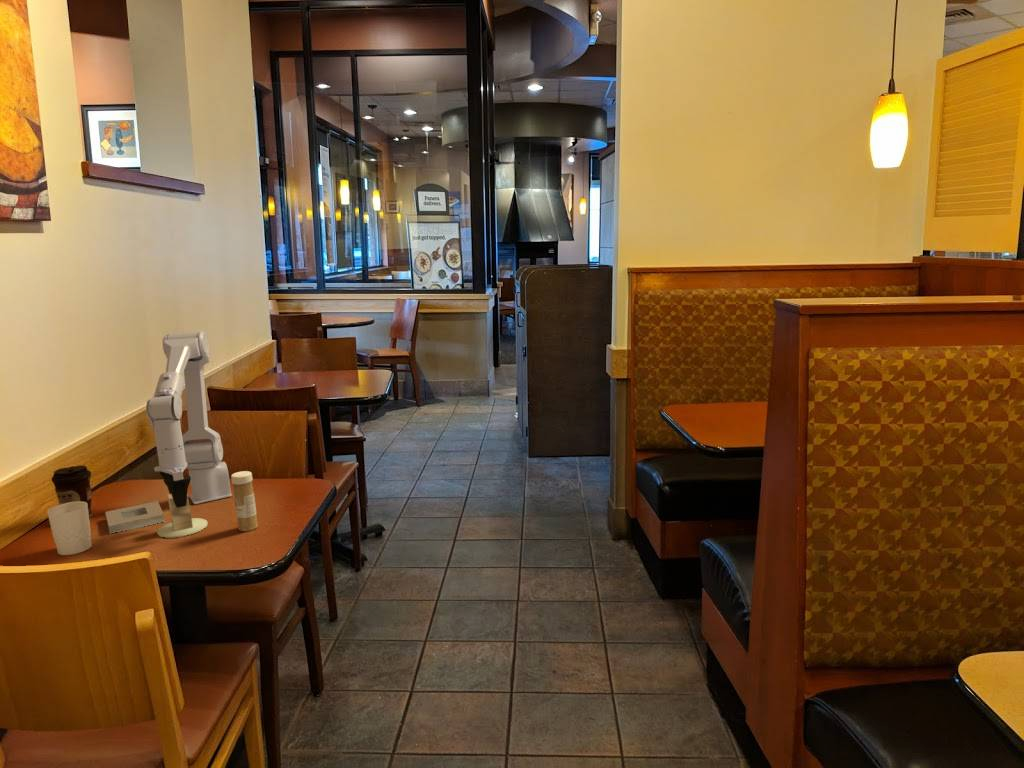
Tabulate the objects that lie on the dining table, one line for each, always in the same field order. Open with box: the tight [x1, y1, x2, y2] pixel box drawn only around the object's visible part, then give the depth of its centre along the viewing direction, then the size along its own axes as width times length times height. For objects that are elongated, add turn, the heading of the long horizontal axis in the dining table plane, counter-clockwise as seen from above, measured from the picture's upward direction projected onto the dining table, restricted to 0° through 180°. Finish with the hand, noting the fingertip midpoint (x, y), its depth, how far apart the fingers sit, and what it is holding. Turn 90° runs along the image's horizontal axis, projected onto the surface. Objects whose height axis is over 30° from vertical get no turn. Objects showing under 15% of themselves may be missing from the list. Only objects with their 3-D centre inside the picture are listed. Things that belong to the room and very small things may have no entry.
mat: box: [156, 517, 209, 539], centre depth 181 cm, size 11×11×1 cm
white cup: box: [46, 501, 92, 556], centre depth 171 cm, size 8×8×10 cm
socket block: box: [104, 500, 166, 535], centre depth 188 cm, size 12×12×2 cm
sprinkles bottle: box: [230, 470, 259, 532], centre depth 177 cm, size 5×5×13 cm
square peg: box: [167, 493, 193, 531], centre depth 180 cm, size 4×4×8 cm
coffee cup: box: [51, 465, 93, 516], centre depth 191 cm, size 9×8×13 cm
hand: (178, 501), depth 179 cm, fingers open, 7 cm apart
